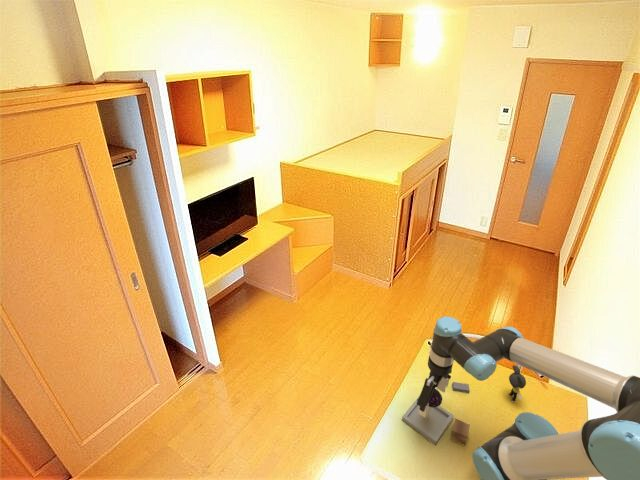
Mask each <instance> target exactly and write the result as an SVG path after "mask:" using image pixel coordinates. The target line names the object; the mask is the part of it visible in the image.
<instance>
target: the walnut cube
mask: <svg viewBox="0 0 640 480" xmlns="http://www.w3.org/2000/svg"><path fill="white" fill-rule="evenodd" d="M453 420H454V421H453V424H452V428H451V433H450V437H449V439H450V440H452V441H454V442H456V443H458V444H461V445H463V446H466V443H467V441H468V438H469V432H470V428H471V424H469V423H467V422H465V421H463V420H460V419H458V418H454V419H453Z"/></svg>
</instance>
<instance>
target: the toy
mask: <svg viewBox="0 0 640 480" xmlns="http://www.w3.org/2000/svg"><path fill="white" fill-rule="evenodd" d="M511 367H512V369H513V372H512V373H511V374H509V376H508V379H509V380H508V381H509V384H510V385H511V386H512V388H511V391H510V393H508V397H512V398H511V403H517V398H518V399H519V400H520V401H523V397H522V394H521V392H520V390H522V389H524V388H525V386H526V385H527V381H526V377H525V376H524V375H523V374H522V373H521V370H520V368H519V367H518V365H517V364H516V365H512V366H511Z"/></svg>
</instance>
